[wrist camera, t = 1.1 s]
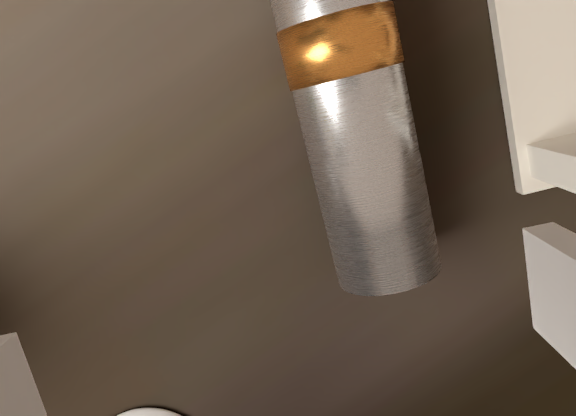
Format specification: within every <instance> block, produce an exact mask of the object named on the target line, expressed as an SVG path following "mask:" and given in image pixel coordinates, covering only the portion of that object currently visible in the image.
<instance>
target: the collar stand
mask: <svg viewBox="0 0 576 416" xmlns="http://www.w3.org/2000/svg"><path fill="white" fill-rule="evenodd" d="M487 2H488V9H489V15H490V22H491V29H492V35H493V42H494V49H495V55H496V62H497V69H498V75H499V82H500V89H501V95H502V102H503V109H504V115H505V122H506V129H507V135H508V142H509V149H510V155H511V162H512V168H513V175H514V182H515V188H516V192H518V193H520V194H522V195H525V194H529V193H533V192H537V191H541V190H545V189H549V188H553V187H559V188H562V189H565V190H567V191H570V192H573V193H575V194H576V0H487Z"/></svg>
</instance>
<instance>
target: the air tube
mask: <svg viewBox="0 0 576 416" xmlns="http://www.w3.org/2000/svg"><path fill="white" fill-rule="evenodd" d="M270 2H271V6H272V10H273V14H274V18H275V22H276V27H277V31H278V33H277V34H276V35H277V39H278V43H279V47H280V51H281V55H282V59H283V63H284V67H285V71H286V75H287V79H288V84H289V88H290V91H292V92H293V96H294V100H295V104H296V109H297V113H298V117H299V121H300V125H301V129H302V133H303V137H304V141H305V145H306V150H307V154H308V158H309V162H310V166H311V170H312V174H313V178H314V182H315V186H316V191H317V195H318V199H319V203H320V207H321V211H322V215H323V219H324V223H325V227H326V232H327V236H328V240H329V244H330V248H331V252H332V256H333V260H334V264H335V268H336V273H337V277H338V281H339V285H340V287H341V288H342V289H343V290H345V291H347V292H349V293H352V294H356V295H362V296H382V295H390V294H395V293H400V292H404V291H408V290H411V289H414V288H416V287H419V286H421V285H423V284H425V283H427V282H429V281H430V280H432V279H433V278H434V277H436V276H437V275H438V273H439V272H440V270H441V267H442V266H441V260H440V254H439V249H438V244H437V239H436V234H435V228H434V223H433V218H432V213H431V208H430V202H429V197H428V192H427V187H426V181H425V176H424V171H423V166H422V161H421V155H420V150H419V145H418V140H417V135H416V129H415V124H414V119H413V114H412V109H411V103H410V98H409V93H408V88H407V83H406V77H405V72H404V67H403V62H404V56H403V51H402V46H401V41H400V35H399V30H398V25H397V20H396V15H395V9H394V4H393V1H391V0H270Z"/></svg>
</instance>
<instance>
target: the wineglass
mask: <svg viewBox="0 0 576 416" xmlns="http://www.w3.org/2000/svg"><path fill="white" fill-rule="evenodd" d="M117 416H181V415H179V414H177V413H175V412H172V411H169V410H165V409H160V408H138V409H133V410H129V411H126V412H123V413H121V414H119V415H117Z"/></svg>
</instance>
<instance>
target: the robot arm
mask: <svg viewBox="0 0 576 416" xmlns="http://www.w3.org/2000/svg"><path fill="white" fill-rule="evenodd" d="M522 230H523V239H524V248H525V257H526V266H527V275H528V284H529V294H530V303H531V312H532V321H533V328H534V329H535V330H536V331H537V332H538V333H539V334H540V335H541V336H542V337H543V338H544V339H545V340H546V341H547V342H548V343H549V344H550V345H551V346H552V347H553V348H554V349H556V350H557V351H558V352H559V353H560V354H561V355H562V356H563V357H564V358H565V359H566V360H567V361H568V362H569V363H570V364H571V365H572V366H573V367H574V368H575V369H576V234H575V233H573V232H571V231H570V230H568V229H566V228H564V227H562V226H560V225H558V224H556V223H554V222H551V223H546V224H541V225H537V226H532V227H527V228H522ZM0 416H47V414H46V411H45V408H44V406H43V403H42V400H41V398H40V395H39V392H38V390H37V387H36V384H35V381H34V379H33V376H32V373H31V371H30V368H29V365H28V363H27V360H26V357H25V354H24V352H23V349H22V346H21V344H20V341H19V338H18V336H17V333H16V332H15V333H10V334H5V335H0Z"/></svg>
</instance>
